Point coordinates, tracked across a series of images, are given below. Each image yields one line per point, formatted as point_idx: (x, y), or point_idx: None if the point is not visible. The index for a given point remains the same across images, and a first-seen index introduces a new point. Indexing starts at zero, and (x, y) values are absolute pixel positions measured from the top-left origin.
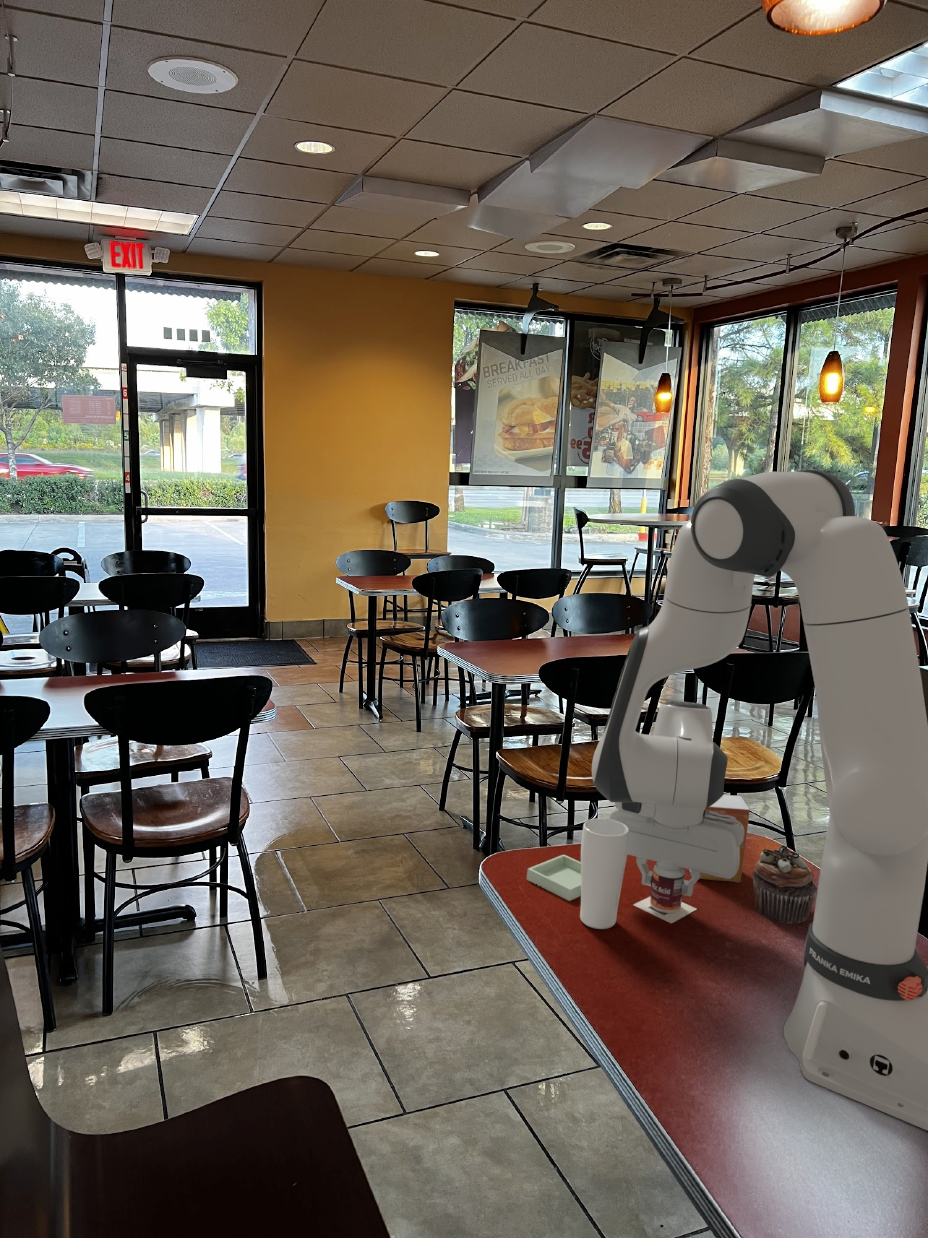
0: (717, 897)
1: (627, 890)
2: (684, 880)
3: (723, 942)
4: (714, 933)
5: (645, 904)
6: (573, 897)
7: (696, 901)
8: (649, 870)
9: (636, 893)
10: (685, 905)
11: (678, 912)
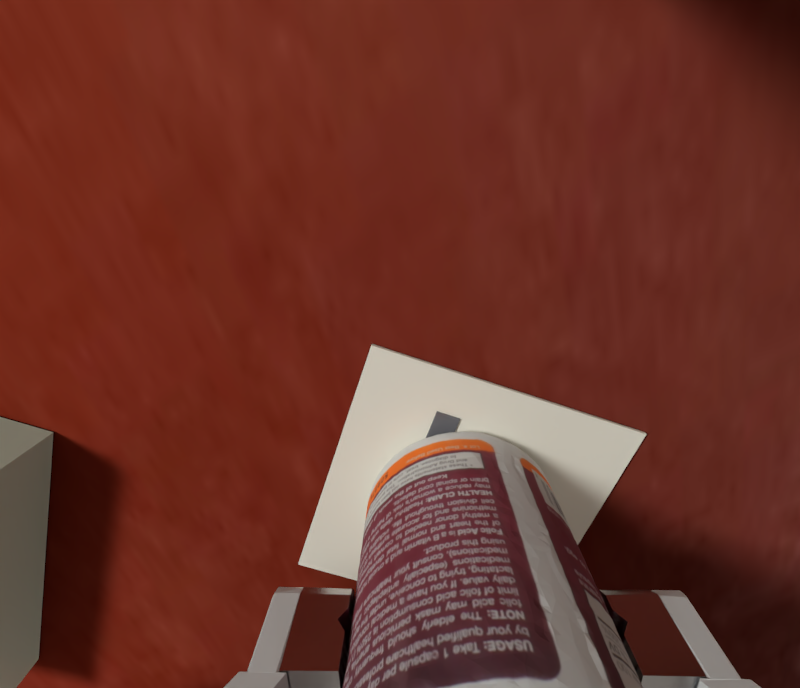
0: (794, 163)
1: (192, 422)
2: (644, 683)
3: (788, 653)
4: (746, 606)
5: (352, 533)
6: (31, 648)
7: (632, 323)
8: (285, 679)
9: (254, 428)
10: (570, 431)
11: None
